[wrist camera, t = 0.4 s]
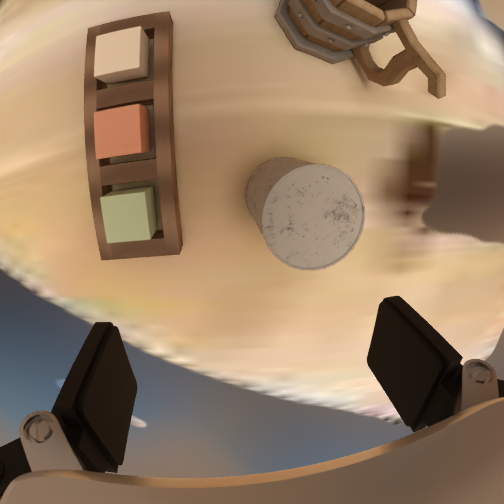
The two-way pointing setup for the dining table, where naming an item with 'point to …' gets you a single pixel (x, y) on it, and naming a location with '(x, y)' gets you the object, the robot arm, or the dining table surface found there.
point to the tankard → (359, 36)
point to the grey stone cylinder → (306, 211)
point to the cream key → (121, 55)
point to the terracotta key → (122, 131)
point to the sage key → (129, 214)
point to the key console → (164, 163)
